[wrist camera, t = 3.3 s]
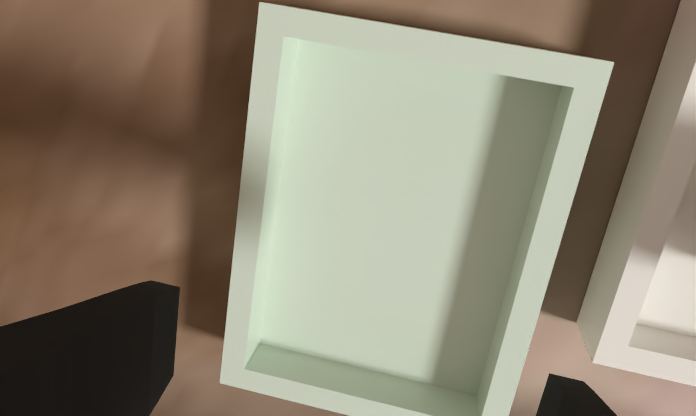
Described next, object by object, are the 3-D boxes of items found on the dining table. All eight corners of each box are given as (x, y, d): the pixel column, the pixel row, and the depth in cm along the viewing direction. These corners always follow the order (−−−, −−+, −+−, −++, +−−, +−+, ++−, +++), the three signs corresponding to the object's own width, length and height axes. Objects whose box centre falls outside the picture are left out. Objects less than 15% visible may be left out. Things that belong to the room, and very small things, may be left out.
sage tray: (592, 57, 17) (614, 61, 15) (492, 406, 21) (497, 452, 19) (284, 4, 18) (259, 1, 16) (244, 346, 22) (219, 382, 20)
